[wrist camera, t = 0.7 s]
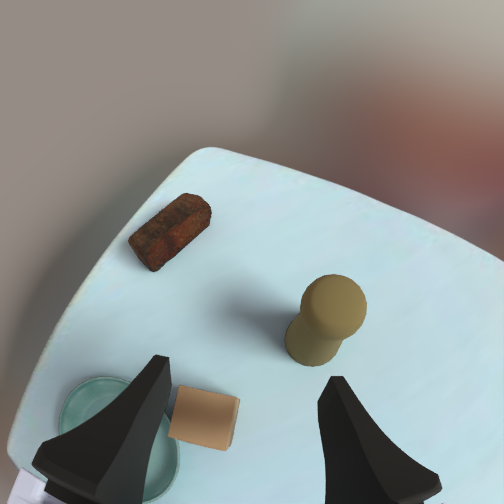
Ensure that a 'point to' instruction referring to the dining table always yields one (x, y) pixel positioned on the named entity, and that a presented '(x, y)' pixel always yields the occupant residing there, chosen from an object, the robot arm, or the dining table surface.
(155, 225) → the brick
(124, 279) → the dining table surface
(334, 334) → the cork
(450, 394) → the dining table surface
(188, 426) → the walnut block
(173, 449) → the saucer
